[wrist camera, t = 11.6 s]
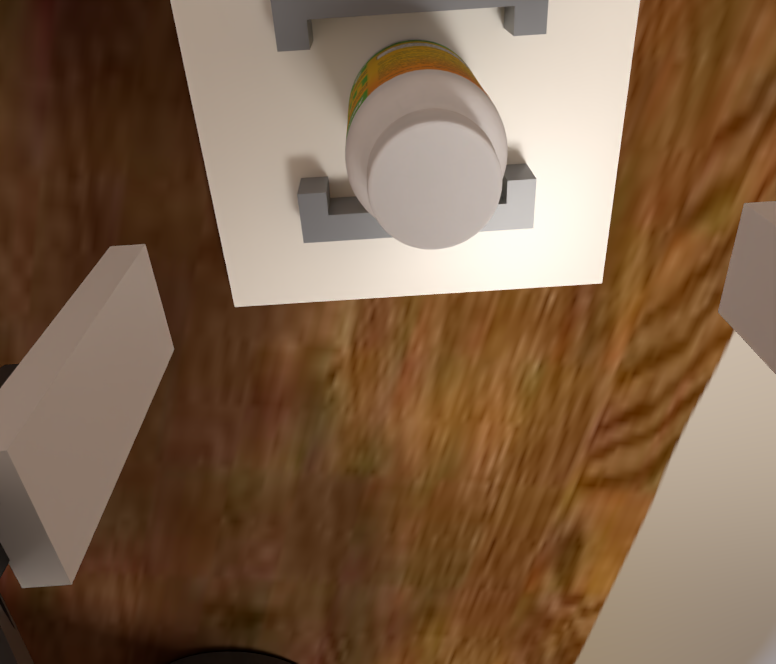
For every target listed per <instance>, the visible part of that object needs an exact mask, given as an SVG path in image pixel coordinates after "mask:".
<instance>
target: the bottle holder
mask: <svg viewBox="0 0 776 664" xmlns="http://www.w3.org/2000/svg"><path fill="white" fill-rule="evenodd" d="M170 2H171V7H172V11H173V16H174V21H175V26H176V30H177V35H178V40H179V45H180V49H181V54H182V59H183V64H184V68H185V73H186V78H187V83H188V87H189V92H190V97H191V102H192V106H193V111H194V116H195V121H196V125H197V130H198V135H199V140H200V144H201V149H202V154H203V159H204V163H205V168H206V173H207V178H208V182H209V187H210V192H211V197H212V201H213V206H214V211H215V216H216V220H217V225H218V230H219V235H220V239H221V244H222V249H223V254H224V258H225V263H226V268H227V273H228V277H229V282H230V287H231V292H232V296H233V301H234V306H235V307H242V306H258V305H273V304H289V303H304V302H320V301H335V300H351V299H366V298H382V297H397V296H413V295H428V294H444V293H459V292H475V291H490V290H506V289H521V288H536V287H552V286H567V285H583V284H598V283H602V279H603V271H604V264H605V257H606V249H607V242H608V234H609V227H610V219H611V212H612V204H613V197H614V190H615V182H616V175H617V167H618V160H619V152H620V145H621V137H622V130H623V122H624V115H625V108H626V100H627V93H628V85H629V78H630V70H631V63H632V55H633V48H634V41H635V33H636V26H637V18H638V11H639V3H640V0H170ZM406 39H425V40H430V41H434V42H437V43H440V44H442V45H444V46H446V47H448V48H449V49H451V50H452V51H454V52H455V53H456V54H457V55H458V56H459V57H460V58H461V59H462V60H463V61H464V62H465V63H466V64H467V66H468V67H469V68H470V70H471V71H472V73H473V75H474V76H475V78H476V79H477V81H478V82H479V84H480V85H481V86H482V88H483V89H484V91H485V92H486V93H487V94H488V96H489V97H490V99H491V101H492V102H493V104H494V105H495V107H496V109H497V111H498V113H499V115H500V117H501V119H502V122H503V124H504V128H505V132H506V137H507V145H508V157H507V164H506V169H505V173H504V176H503V179H502V191H501V196H500V200H499V203H498V206H497V208H496V210H495V212H494V214H493V216H492V217H491V219H490V220H489V221H488V223H487V224H486V225H485V226H484V227H483V228H482V229H481V230H480V231H479V232H478V233H477V234H476V235H474V236H473V237H471V238H470V239H468V240H466V241H464V242H462V243H460V244H458V245H455V246H452V247H448V248H443V249H435V250H432V249H420V248H415V247H411V246H408V245H406V244H404V243H401V242H400V241H398V240H396V239H395V238H393V237H392V236H391V235H389V234H388V233H387V232H386V231H385V230H384V229H383V228H382V226H381V225H380V224H379V223H378V221H377V219H376V218H374V217H373V216H372V215H371V214H370V213H369V212H368V211H367V210H366V209H365V208H364V207H363V206H362V204H361V203H360V202H359V200H358V198H357V197H356V195H355V193H354V191H353V189H352V187H351V184H350V182H349V178H348V174H347V169H346V161H345V146H346V134H347V122H348V104H349V98H350V93H351V89H352V86H353V83H354V80H355V78H356V76H357V74H358V72H359V71H360V69H361V68H362V66H363V65H364V64H365V62H366V61H367V60H368V59H369V58H370V57H371V56H372V55H374V54H375V53H376V52H377V51H379V50H380V49H382V48H384V47H386V46H387V45H389V44H392V43H394V42H397V41H401V40H406Z"/></svg>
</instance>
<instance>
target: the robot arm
mask: <svg viewBox="0 0 776 664" xmlns="http://www.w3.org/2000/svg"><path fill="white" fill-rule="evenodd" d="M718 313H719V314H720V315H721V316H722V317H723V318H724V319H725V320H726V321H727V322H728V323H729V325H730V326H731V327H732V328H733V329H734V330H735V331H736V332H737V333H738V334H739V335H740V336H741V337H742V338H743V340H745V342H746V343H747V344H748V345H749V346H750V347H751V348H752V349H753V350H754V351H755V352H756V353H757V355H758V356H759V357H760V358H761V359H762V360H763V361H764V362H765V363H766V364H767V365H768V366H769V368H770V369H771V370H772V371H773V372H774V373H775V374H776V201H771V202H756V203H744V206H743V210H742V215H741V219H740V223H739V227H738V231H737V235H736V239H735V244H734V248H733V252H732V256H731V260H730V264H729V269H728V273H727V277H726V281H725V285H724V289H723V293H722V298H721V302H720V306H719V310H718ZM173 351H174V347H173V343H172V340H171V336H170V332H169V329H168V325H167V321H166V318H165V314H164V310H163V307H162V303H161V299H160V296H159V292H158V288H157V285H156V281H155V278H154V274H153V270H152V267H151V263H150V259H149V256H148V252H147V248H146V245H145V244H138V245H124V246H110V247H109V249H108V250H107V251H106V253H105V254H104V255H103V256H102V258H101V259H100V260H99V262H98V263H97V264H96V266H95V267H94V268H93V269H92V271H91V272H90V273H89V275H88V276H87V277H86V278H85V280H84V281H83V282H82V284H81V285H80V286H79V287H78V289H77V290H76V291H75V293H74V294H73V295H72V296H71V298H70V299H69V300H68V302H67V303H66V304H65V306H64V307H63V308H62V309H61V311H60V312H59V313H58V315H57V316H56V317H55V318H54V320H53V321H52V322H51V324H50V325H49V326H48V327H47V329H46V330H45V331H44V333H43V334H42V335H41V336H40V338H39V339H38V340H37V342H36V343H35V344H34V346H33V347H32V348H31V349H30V351H29V352H28V353H27V355H26V356H25V357H24V358H23V360H22V361H21V362H20V364H10V365H4V366H2V367H1V368H0V577H1V576H2V574H3V572H4V570H5V568H6V567H7V565H8V563H9V565H10V567H11V569H12V570H13V572H14V574H15V576H16V578H17V580H18V581H19V583H20V585H21V587H22V588H31V587H45V586H60V585H72V583H73V580H74V578H75V576H76V573H77V571H78V569H79V567H80V564H81V562H82V560H83V557H84V555H85V553H86V550H87V548H88V546H89V544H90V541H91V539H92V537H93V534H94V532H95V530H96V528H97V525H98V523H99V521H100V518H101V516H102V514H103V511H104V509H105V507H106V505H107V502H108V500H109V498H110V495H111V493H112V491H113V489H114V486H115V484H116V482H117V479H118V477H119V475H120V472H121V470H122V468H123V466H124V463H125V461H126V459H127V456H128V454H129V452H130V450H131V447H132V445H133V443H134V440H135V438H136V436H137V433H138V431H139V429H140V427H141V424H142V422H143V420H144V417H145V415H146V413H147V411H148V408H149V406H150V404H151V401H152V399H153V397H154V394H155V392H156V390H157V388H158V385H159V383H160V381H161V378H162V376H163V374H164V372H165V369H166V367H167V365H168V362H169V360H170V358H171V355H172V353H173ZM0 664H34V662H33V660H32V658H31V656H30V654H29V652H28V650H27V648H26V645H25V643H24V641H23V639H22V637H21V635H20V633H19V631H18V629H17V627H16V624H15V622H14V620H13V618H12V616H11V614H10V612H9V610H8V608H7V606H6V603H5V601H4V599H3V597H2V596H1V594H0ZM170 664H291V663H289V662H286V661H284V660H281V659H278V658H274V657H271V656H266V655H261V654H256V653H248V652H211V653H203V654H198V655H193V656H189V657H186V658H182V659H179V660H177V661H174V662H172V663H170Z"/></svg>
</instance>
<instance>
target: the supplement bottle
mask: <svg viewBox="0 0 776 664" xmlns="http://www.w3.org/2000/svg"><path fill="white" fill-rule="evenodd" d="M507 157H508V145H507V137H506V132H505V128H504V124H503V122H502V119H501V117H500V115H499V113H498V111H497V109H496V107H495V105H494V104H493V102H492V101H491V99H490V97H489V96H488V94H487V93H486V92H485V91H484V89H483V88H482V86H481V85H480V84H479V82H478V81H477V79H476V78H475V76H474V75H473V73H472V71H471V70H470V68H469V67H468V66H467V64H466V63H465V62H464V61H463V60H462V59H461V58H460V57H459V56H458V55H457V54H456V53H455V52H454V51H452V50H451V49H449V48H448V47H446V46H444V45H442V44H440V43H437V42H434V41H430V40H425V39H406V40H401V41H397V42H394V43H392V44H389V45H387V46H386V47H384V48H382V49H380V50H379V51H377V52H376V53H375V54H374V55H372V56H371V57H370V58H369V59H368V60H367V61H366V62H365V64H364V65H363V66H362V68H361V69H360V71H359V72H358V74H357V76H356V78H355V80H354V83H353V86H352V89H351V93H350V98H349V104H348V122H347V134H346V146H345V161H346V169H347V174H348V178H349V182H350V184H351V187H352V189H353V191H354V193H355V195H356V197H357V198H358V200H359V202H360V203H361V204H362V206H363V207H364V208H365V209H366V210H367V211H368V212H369V213H370V214H371V215H372V216H373V217H374V218H376V219H377V221H378V223H379V224H380V225H381V226H382V228H383V229H384V230H385V231H386V232H387V233H388V234H389V235H391V236H392V237H393V238H395V239H396V240H398V241H400V242H401V243H404V244H406V245H408V246H411V247H415V248H420V249H432V250H435V249H443V248H448V247H452V246H455V245H458V244H460V243H462V242H464V241H466V240H468V239H470V238H471V237H473V236H474V235H476V234H477V233H478V232H479V231H480V230H481V229H482V228H483V227H484V226H485V225H486V224H487V223H488V221H489V220H490V219H491V217H492V216H493V214H494V212H495V210H496V208H497V206H498V203H499V200H500V196H501V191H502V179H503V176H504V173H505V169H506V164H507Z"/></svg>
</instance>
